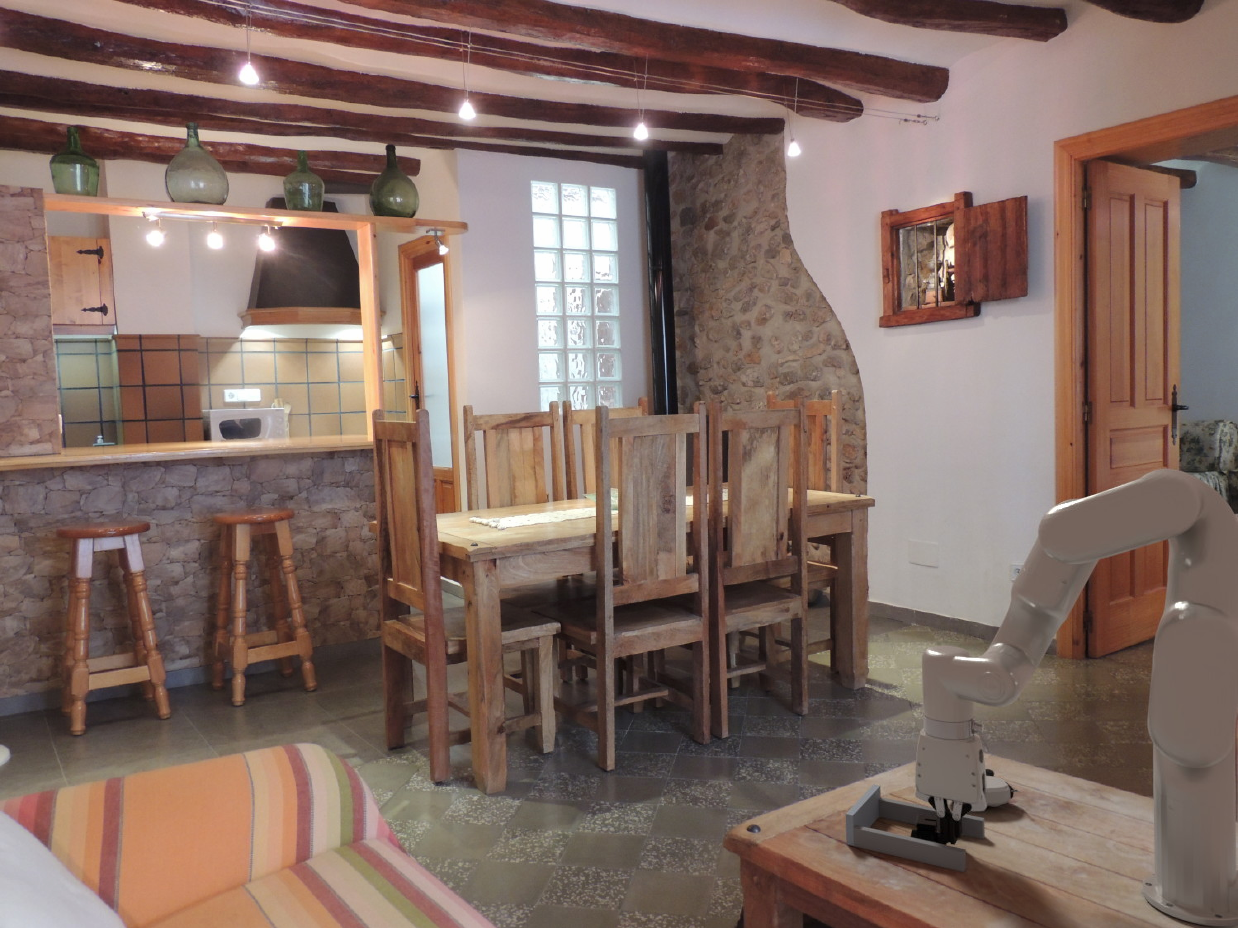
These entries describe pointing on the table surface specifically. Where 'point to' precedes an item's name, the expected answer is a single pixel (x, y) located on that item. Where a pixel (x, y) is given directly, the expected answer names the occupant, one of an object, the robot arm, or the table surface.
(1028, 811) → the table surface
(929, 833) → the black bracket part
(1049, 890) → the table surface
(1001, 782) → the robot toy
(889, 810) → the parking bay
